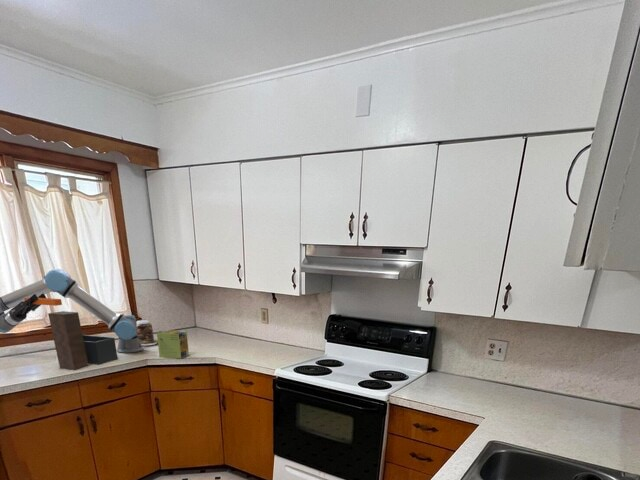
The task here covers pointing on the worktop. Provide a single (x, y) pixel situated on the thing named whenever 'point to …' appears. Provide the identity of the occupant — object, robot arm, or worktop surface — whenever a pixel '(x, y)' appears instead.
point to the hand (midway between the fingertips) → (40, 296)
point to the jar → (145, 331)
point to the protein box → (172, 344)
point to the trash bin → (99, 349)
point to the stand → (68, 340)
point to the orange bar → (46, 301)
